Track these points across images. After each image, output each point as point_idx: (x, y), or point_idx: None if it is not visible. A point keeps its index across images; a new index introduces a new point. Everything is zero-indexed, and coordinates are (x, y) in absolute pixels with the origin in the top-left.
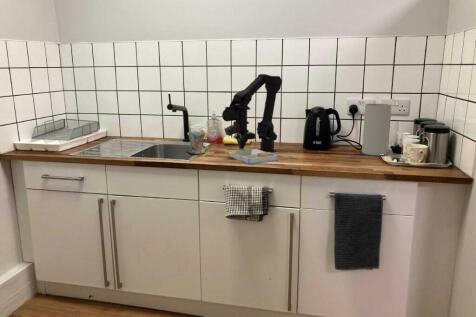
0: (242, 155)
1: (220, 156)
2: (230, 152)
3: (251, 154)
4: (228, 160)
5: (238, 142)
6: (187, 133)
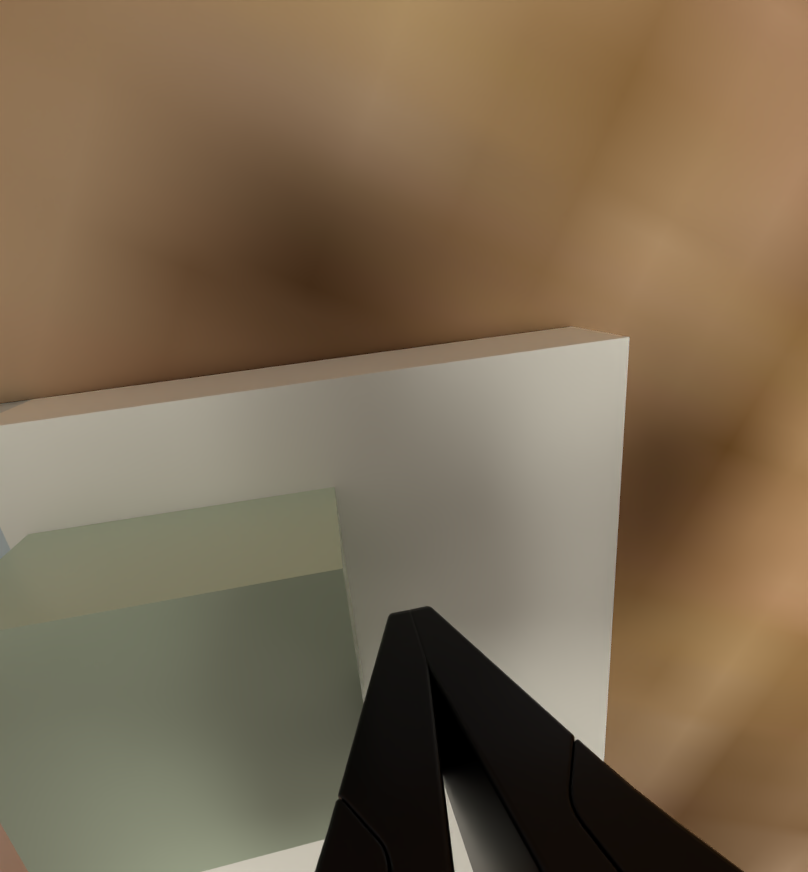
0: (24, 540)
1: (624, 94)
2: (558, 353)
3: None
4: (88, 102)
5: (546, 846)
6: None
